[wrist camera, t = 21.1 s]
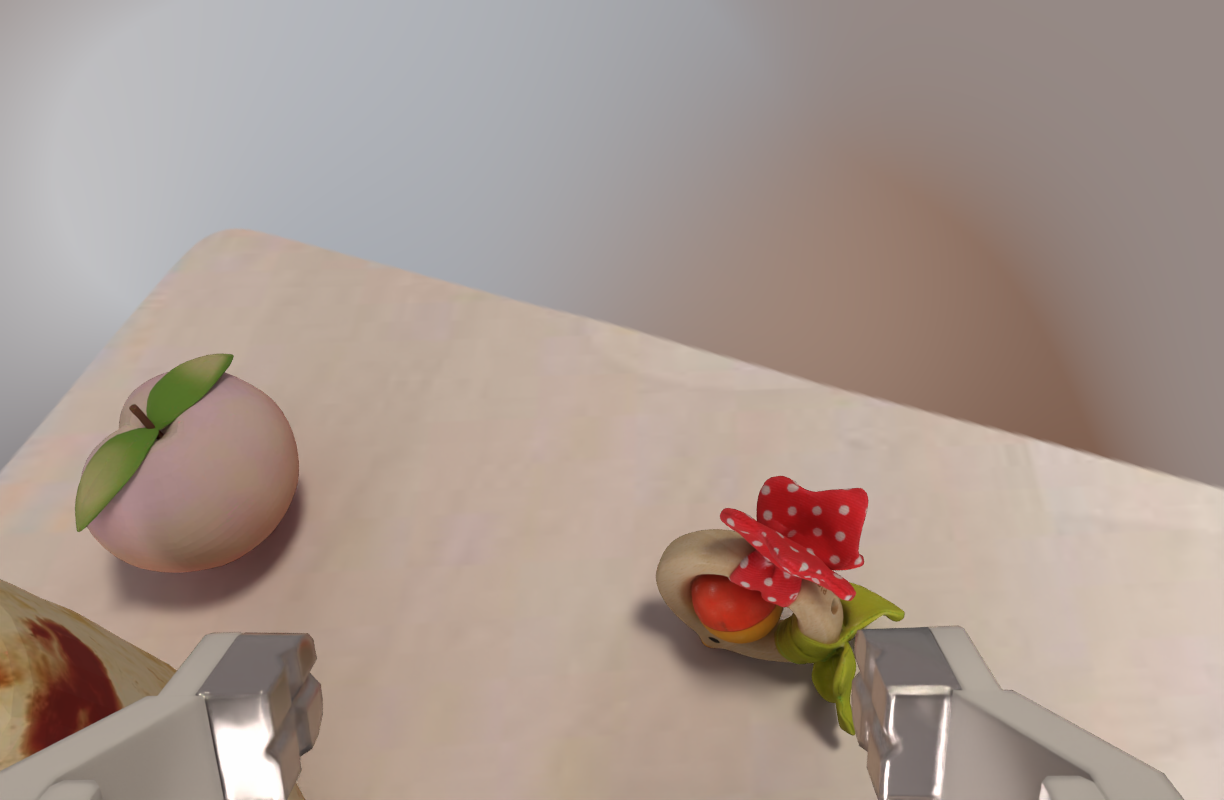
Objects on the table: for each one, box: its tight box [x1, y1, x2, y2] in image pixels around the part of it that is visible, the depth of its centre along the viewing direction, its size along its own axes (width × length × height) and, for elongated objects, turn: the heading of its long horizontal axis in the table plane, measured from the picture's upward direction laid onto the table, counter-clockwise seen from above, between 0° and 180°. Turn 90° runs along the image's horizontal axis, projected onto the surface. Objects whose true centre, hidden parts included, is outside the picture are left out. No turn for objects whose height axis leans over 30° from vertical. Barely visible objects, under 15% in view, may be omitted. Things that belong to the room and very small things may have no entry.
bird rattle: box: [656, 476, 904, 735], centre depth 35 cm, size 6×11×9 cm
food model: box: [0, 579, 305, 800], centre depth 29 cm, size 10×7×20 cm
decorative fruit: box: [75, 354, 299, 573], centre depth 41 cm, size 9×8×10 cm
